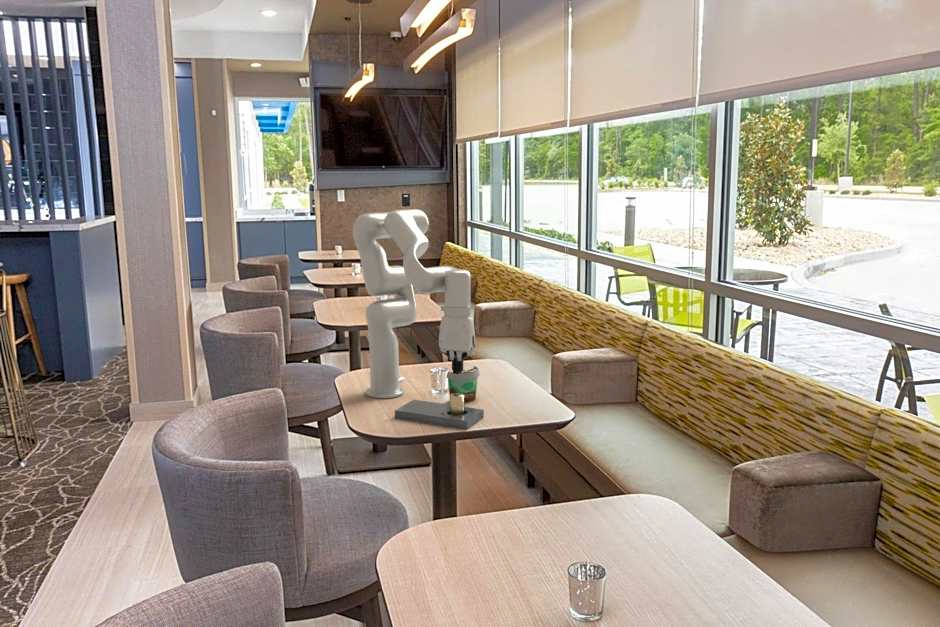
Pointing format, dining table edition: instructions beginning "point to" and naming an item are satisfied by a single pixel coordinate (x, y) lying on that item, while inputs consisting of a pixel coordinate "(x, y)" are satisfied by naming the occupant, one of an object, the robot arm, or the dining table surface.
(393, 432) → the dining table surface
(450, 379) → the food container
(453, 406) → the brass sleeve
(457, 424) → the jig plate
